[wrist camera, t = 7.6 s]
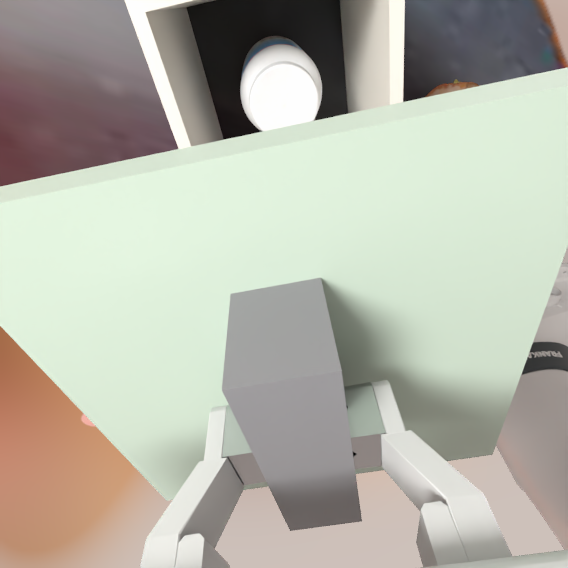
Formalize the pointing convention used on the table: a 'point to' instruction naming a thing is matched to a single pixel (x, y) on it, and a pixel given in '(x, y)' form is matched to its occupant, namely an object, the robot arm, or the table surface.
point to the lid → (299, 284)
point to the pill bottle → (279, 84)
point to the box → (192, 80)
